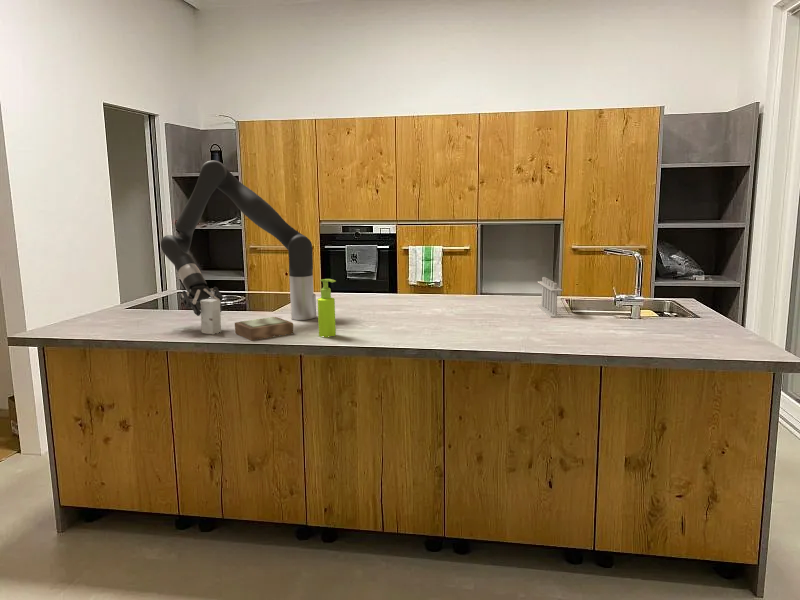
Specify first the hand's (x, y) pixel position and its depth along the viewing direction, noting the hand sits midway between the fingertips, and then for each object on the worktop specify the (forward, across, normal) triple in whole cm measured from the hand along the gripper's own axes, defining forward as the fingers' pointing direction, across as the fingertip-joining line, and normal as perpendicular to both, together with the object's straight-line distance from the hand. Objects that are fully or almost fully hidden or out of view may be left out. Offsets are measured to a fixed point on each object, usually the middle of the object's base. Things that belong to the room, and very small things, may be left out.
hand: (210, 312), depth 222 cm
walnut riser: (+17, +11, -6) cm, 21 cm away
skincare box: (+6, 0, +5) cm, 8 cm away
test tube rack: (+57, +111, -46) cm, 133 cm away
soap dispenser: (+31, +24, -21) cm, 45 cm away
